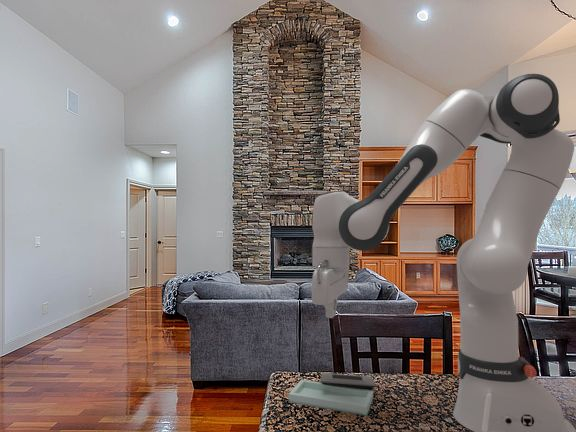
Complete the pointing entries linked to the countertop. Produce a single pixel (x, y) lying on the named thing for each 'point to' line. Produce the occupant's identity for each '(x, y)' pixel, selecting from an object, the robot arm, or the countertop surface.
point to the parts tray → (332, 397)
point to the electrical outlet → (347, 380)
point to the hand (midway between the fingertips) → (331, 316)
